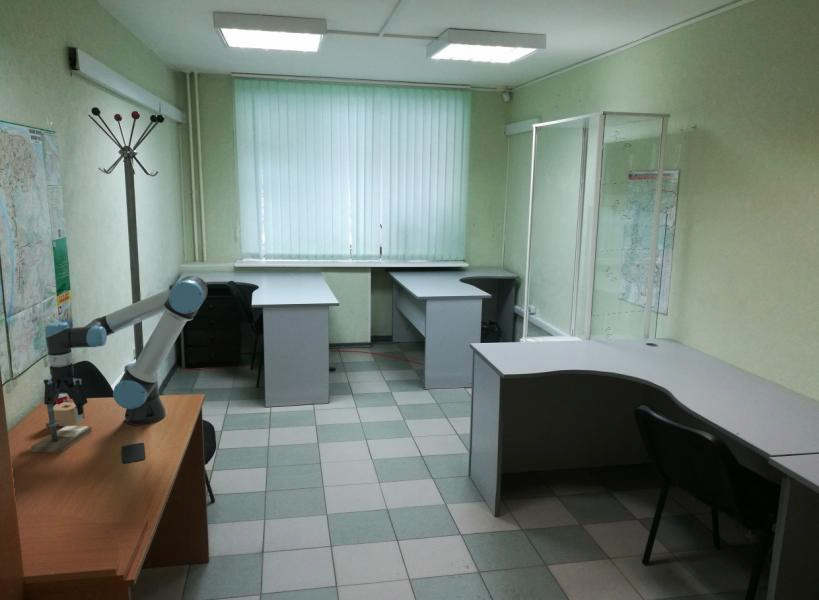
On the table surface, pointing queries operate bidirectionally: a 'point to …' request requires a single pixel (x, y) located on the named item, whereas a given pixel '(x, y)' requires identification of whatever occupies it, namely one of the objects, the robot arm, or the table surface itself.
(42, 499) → the table surface
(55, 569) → the table surface
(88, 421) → the table surface
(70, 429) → the stand
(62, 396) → the soda can
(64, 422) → the collar
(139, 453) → the phone
